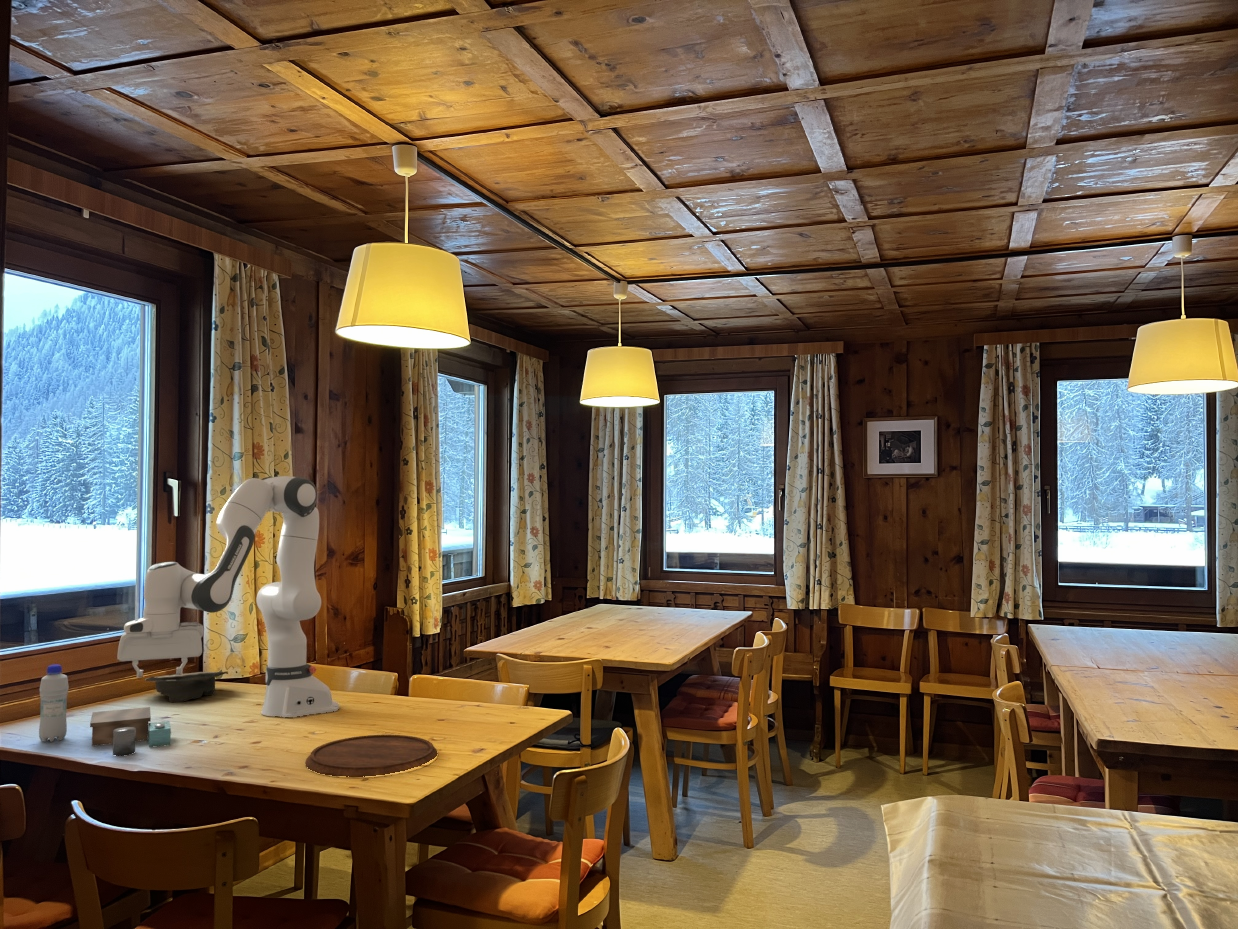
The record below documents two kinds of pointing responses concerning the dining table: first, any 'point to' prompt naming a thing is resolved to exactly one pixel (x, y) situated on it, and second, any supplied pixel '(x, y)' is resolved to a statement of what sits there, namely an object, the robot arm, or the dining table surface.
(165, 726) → the block
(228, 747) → the dining table surface
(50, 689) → the bottle
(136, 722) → the stand
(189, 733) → the dining table surface
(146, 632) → the robot arm
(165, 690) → the stone bowl
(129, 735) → the tin
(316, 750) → the cutting board
